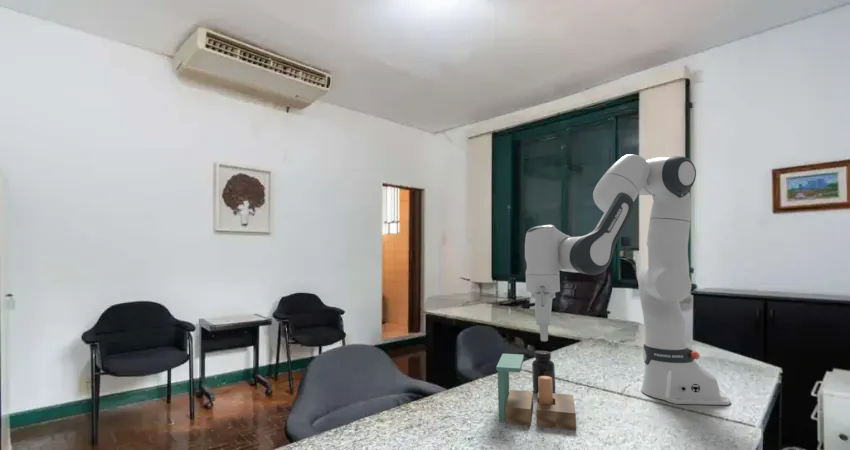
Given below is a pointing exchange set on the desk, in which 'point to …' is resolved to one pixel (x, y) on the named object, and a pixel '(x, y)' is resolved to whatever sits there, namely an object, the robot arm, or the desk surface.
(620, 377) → the desk surface
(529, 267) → the robot arm
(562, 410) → the socket block
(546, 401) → the peg
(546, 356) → the supplement bottle
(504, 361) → the teal u-shaped bracket
